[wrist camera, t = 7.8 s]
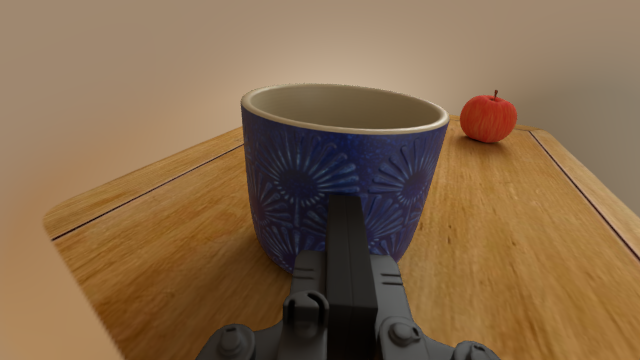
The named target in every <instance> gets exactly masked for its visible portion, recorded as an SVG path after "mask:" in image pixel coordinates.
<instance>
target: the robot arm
mask: <svg viewBox="0 0 640 360" xmlns="http://www.w3.org/2000/svg"><path fill="white" fill-rule="evenodd" d="M195 360H501V359H500V358H499V357H498V356H497V355H496V354H495V353H494V352H493V351H492V350H490V349H489V348H487V347H486V346H484V345H482V344H480V343H477V342H474V341H463V342H461V343H458V344H457V346H456V348H453V347H450V346H448V345H445V344H442V343H440V342H437V341H435V340H433V339H431V338H429V337H428V336H426V335H425V334H423V332H422V330H421V328H420V327H419V326H418V325H417V324H416V323H415V322H414V321H413V318H412V315H411V311H410V308H409V304H408V300H407V297H406V293H405V289H404V286H403V282H402V278H401V275H400V271H399V268H398V265H397V263H396V262H395V261H394V260H393V258H392V257H391V256H390V255H377V254H370V253H369V246H368V240H367V234H366V228H365V222H364V216H363V210H362V203H361V197H359V196H346V195H333V194H329V203H328V214H327V226H326V237H325V251H314V250H302V251H301V252H300V253H299V254H298V256H297V257H296V259H295V265H294V271H293V278H292V283H291V289H290V295H289V296H288V297H287V298H286V299H285V302H284V304H283V319H282V320H281V321H280V322H279V323H277V324H276V325H274V326H272V327H270V328H267V329H263V330H259V331H254V332H252V330H251V329H250V328H248V327H247V326H245V325H242V324H230V325H226V326H224V327H222V328H220V329H218V330H217V331H216V332H215V333H214V334H213V335H212V336H211V337H210V338H209V340H208V341H207V343H206V344H205V346H204V347H203V348H202V350H201V351H200V353H199V354H198V356H197V357H196V359H195Z"/></svg>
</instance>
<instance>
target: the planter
mask: <svg viewBox="0 0 640 360" xmlns="http://www.w3.org/2000/svg"><path fill="white" fill-rule="evenodd" d="M241 110H242V111H241V112H242V124H243V137H244V150H245V161H246V173H247V183H248V192H249V201H250V208H251V214H252V219H253V224H254V228H255V232H256V235H257V238H258V240H259V242H260V244H261V246H262V248H263V249H264V251H265V252H266V254H267V255H268V256H269V257H270V258H271V259H272V260H273V261H274V262H275V263H276V264H277V265H279V266H280V267H281V268H283V269H284V270H286V271H287V272H289V273H291V274H293V271H294V265H295V259H296V257H297V256H298V254H299V253H300V252H301V251H302V250H314V251H325V237H326V226H327V214H328V203H329V194H333V195H346V196H359V197H361V203H362V210H363V216H364V222H365V228H366V234H367V240H368V246H369V253H370V254H377V255H390V256H391V257H392V258H393V260H394V261H395V262H396V263H397V262H398V261H399V260H400V259H401V257H402V256H403V254H404V253H405V251H406V250H407V248H408V246H409V244H410V242H411V240H412V237H413V235H414V232H415V230H416V227H417V225H418V222H419V219H420V216H421V213H422V210H423V207H424V204H425V201H426V198H427V195H428V191H429V188H430V185H431V181H432V178H433V175H434V171H435V168H436V165H437V161H438V158H439V154H440V151H441V147H442V144H443V140H444V137H445V134H446V130H447V127H448V123H449V115H448V113H447V112H446V111H445V110H444V109H443V108H441V107H440V106H438V105H436V104H434V103H431V102H429V101H427V100H424V99H421V98H417V97H414V96H410V95H406V94H402V93H397V92H393V91H387V90H381V89H375V88H367V87H360V86H349V85H337V84H285V85H276V86H268V87H263V88H259V89H255V90H252V91H250V92H248V93H246V94H245V95H244V96H243V97H242V99H241Z"/></svg>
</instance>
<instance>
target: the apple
mask: <svg viewBox="0 0 640 360" xmlns="http://www.w3.org/2000/svg"><path fill="white" fill-rule="evenodd" d="M497 92H498V91H497V90H495V96H485V95H484V96H476V97H473V98H472V99H471V100H469V101H468V102H467V103H466V104H465V106H464V108H463V109H462V112H461V115H460V124H461V127H462V129H463V131H464V133H465V134H466V135H467V136H469V137H470V138H472V139H476V140H479V141H481V142H497V141H500V140H502V139H504V138H505V137H506V136H508V135H509V134H510V133H511V131H512V130H513V128H514V127H515V124H516V120H517V112H516V109H515V107H514V106H513V105H512V104H511V103H510V102H508V101H505V100H503V99H501V98H498V97H496V94H497Z"/></svg>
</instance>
